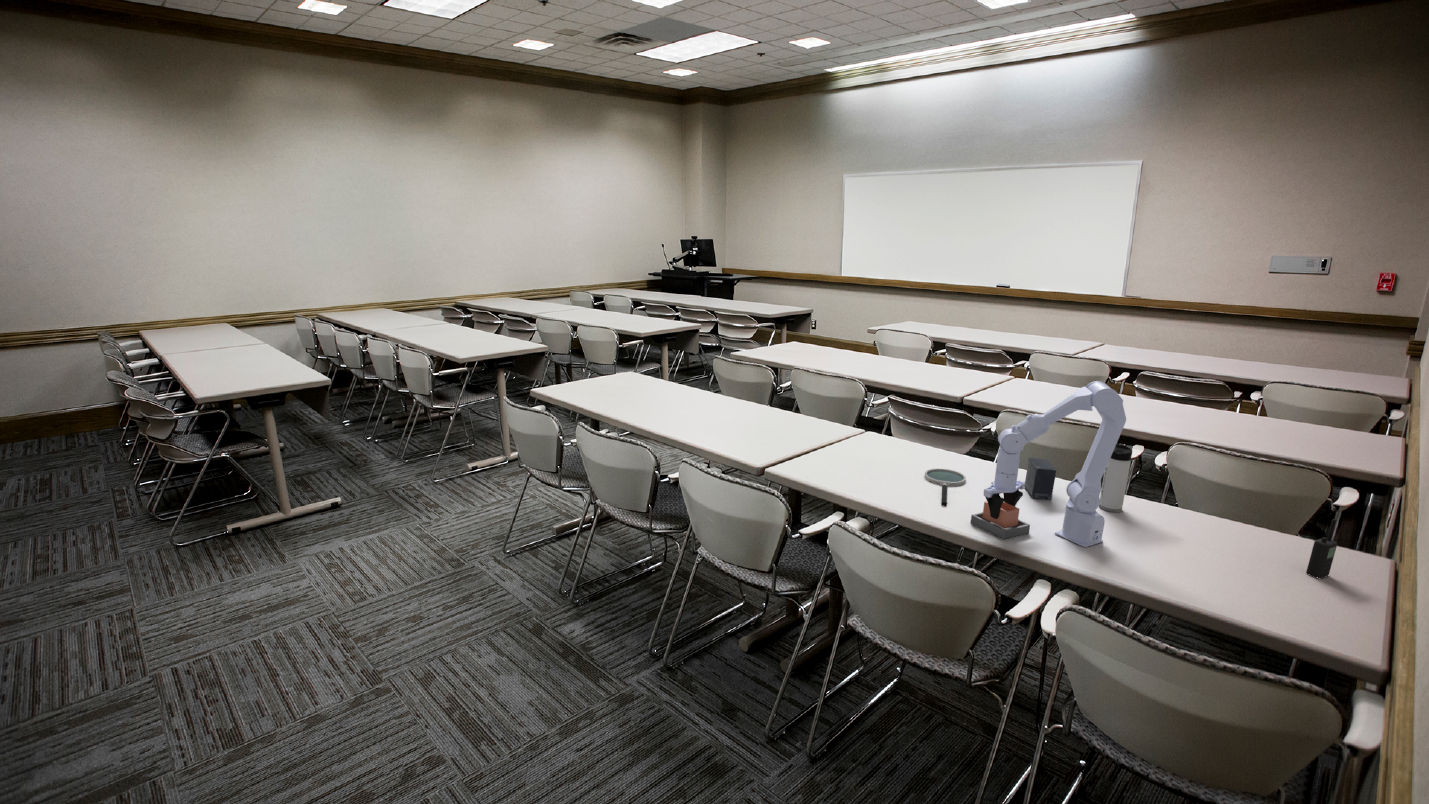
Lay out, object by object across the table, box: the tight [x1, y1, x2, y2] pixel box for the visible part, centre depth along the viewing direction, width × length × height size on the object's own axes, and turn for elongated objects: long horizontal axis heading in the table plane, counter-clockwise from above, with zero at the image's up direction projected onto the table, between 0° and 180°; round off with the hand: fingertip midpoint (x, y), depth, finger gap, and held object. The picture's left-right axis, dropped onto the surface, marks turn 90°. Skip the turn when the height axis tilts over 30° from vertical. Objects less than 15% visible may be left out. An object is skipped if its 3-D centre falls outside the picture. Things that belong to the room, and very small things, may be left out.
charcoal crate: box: [970, 511, 1031, 541], centre depth 193 cm, size 12×10×3 cm
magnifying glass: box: [924, 468, 966, 507], centre depth 223 cm, size 13×31×2 cm, turn 161°
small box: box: [1024, 457, 1057, 501], centre depth 217 cm, size 11×6×10 cm, turn 168°
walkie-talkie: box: [1305, 518, 1338, 579], centre depth 168 cm, size 5×3×15 cm
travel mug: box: [1098, 443, 1133, 513], centre depth 205 cm, size 6×7×20 cm
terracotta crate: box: [982, 500, 1020, 528], centre depth 192 cm, size 8×5×5 cm, turn 27°
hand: (1000, 515), depth 192 cm, fingers closed on terracotta crate, 5 cm apart
